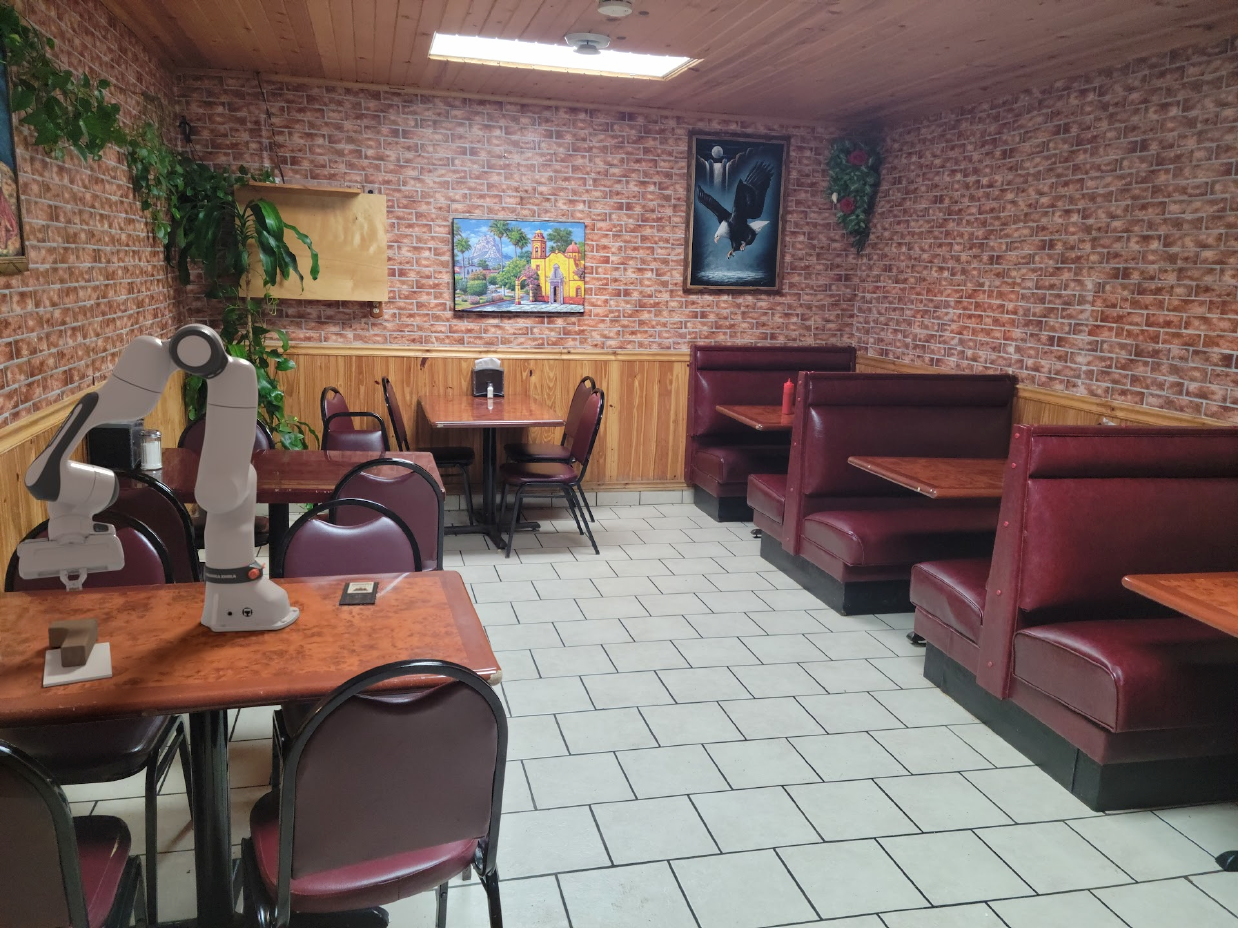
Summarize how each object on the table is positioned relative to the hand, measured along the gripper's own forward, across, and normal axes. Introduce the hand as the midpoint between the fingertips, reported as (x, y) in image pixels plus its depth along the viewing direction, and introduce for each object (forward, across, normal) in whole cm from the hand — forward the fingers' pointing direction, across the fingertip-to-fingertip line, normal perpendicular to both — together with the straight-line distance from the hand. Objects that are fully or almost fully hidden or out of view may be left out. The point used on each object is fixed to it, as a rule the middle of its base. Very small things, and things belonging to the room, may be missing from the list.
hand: (74, 589), depth 201 cm
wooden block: (+4, 0, +11) cm, 12 cm away
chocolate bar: (+1, +65, +18) cm, 68 cm away
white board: (+17, 0, +2) cm, 17 cm away
